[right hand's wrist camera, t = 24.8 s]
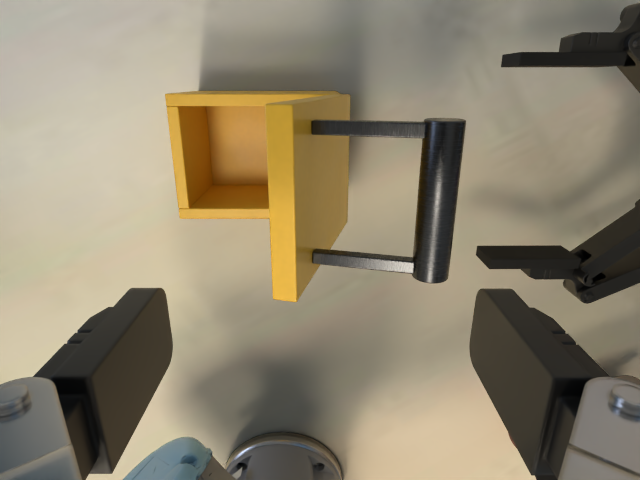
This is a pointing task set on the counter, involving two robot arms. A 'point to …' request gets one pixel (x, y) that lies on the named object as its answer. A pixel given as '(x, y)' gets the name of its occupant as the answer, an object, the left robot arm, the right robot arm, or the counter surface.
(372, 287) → the counter surface
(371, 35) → the counter surface
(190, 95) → the chest
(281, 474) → the left robot arm
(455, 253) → the counter surface
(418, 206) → the yellow handled panel
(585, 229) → the counter surface
